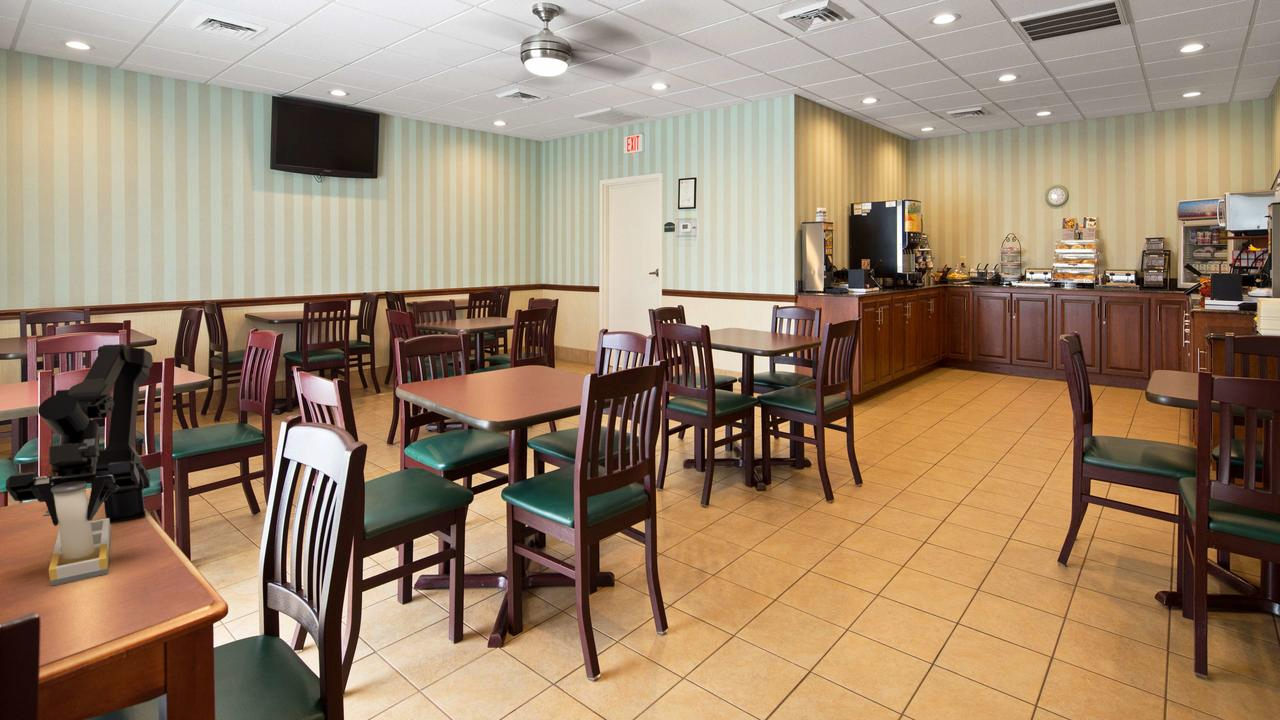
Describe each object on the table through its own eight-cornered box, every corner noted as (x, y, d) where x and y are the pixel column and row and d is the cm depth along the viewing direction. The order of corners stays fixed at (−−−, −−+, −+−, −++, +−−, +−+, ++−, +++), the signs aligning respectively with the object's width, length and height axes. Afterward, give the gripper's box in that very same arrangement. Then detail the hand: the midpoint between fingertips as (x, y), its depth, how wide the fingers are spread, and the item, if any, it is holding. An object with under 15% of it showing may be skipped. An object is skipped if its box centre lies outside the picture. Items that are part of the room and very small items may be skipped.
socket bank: (110, 531, 147) (109, 517, 147) (107, 573, 128) (105, 558, 128) (61, 540, 143) (60, 526, 142) (50, 586, 123) (48, 570, 123)
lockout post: (96, 545, 132) (87, 479, 130) (95, 554, 128) (86, 486, 126) (62, 552, 129) (52, 484, 127) (60, 562, 125) (49, 492, 123)
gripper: (0, 431, 124) (-12, 511, 116) (129, 419, 132) (126, 493, 125) (21, 462, 132) (10, 539, 124) (141, 448, 141) (138, 520, 133)
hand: (72, 522), depth 126 cm, fingers closed on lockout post, 4 cm apart
